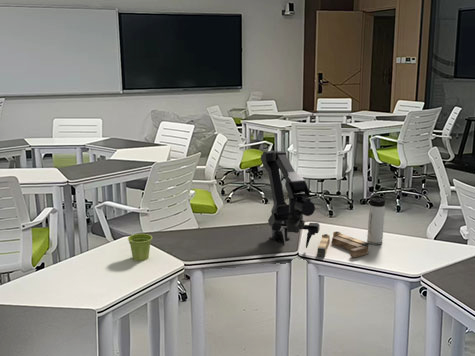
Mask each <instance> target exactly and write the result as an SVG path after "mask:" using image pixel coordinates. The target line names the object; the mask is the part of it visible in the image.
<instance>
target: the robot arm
mask: <svg viewBox="0 0 475 356" xmlns="http://www.w3.org/2000/svg"><path fill="white" fill-rule="evenodd" d="M260 160H261V161H260V162H262V167H263V168H264V169H265V170H266V172H267V173H268V179H269V185H270V190H271V191H270V192H271V194H272V195H271V196H272V202H273V205H272V208H271V214H270V216H269V218H268V221H267V222H268V226H269V227H271V230H272V231H271V236H269V239H270V240H274V241H275V242H277V243H278V242H281V243H282V246H283V247H285V246H286V241H287V240H290V239H291V238H290V237H288V233H295V234H298V233H299V232H300V231H301V230H304V231H306V230H307V231H308V232H307V233H306V242H305V248H306V249H307V248H308V247H309V243H310V241H311V238H312V236H315V235H316V234H319V232H320V228H321V227H320V223H318V222H309V223H308V224H305V220H304V216H306V217H310V216H312V215H313V214H314V213H315V211H316V207H315V204H314V203H313V202H312V199H311V198H310V197H311V192H310V189H309V186H308V184H307V182H306V180H305V179H304V178H303V176H302V175H300V174H298V173H297V172H296V170H295V169H294V167H293V165H292V164H291V162H290V160H289V158H288V157H287V153H286V151H285V150H284V151H283V150H282V151H281V150H267V151H266V150H265V151H263V152H262V154H260ZM280 172H281V174H282V176H283V177H284V180H285V183H284V186H285V188H286V192H287V195H286V197H288V204H287V202H286V201H285V195H284V191H283V190H284V189H283V184H282V178H281V174H280Z"/></svg>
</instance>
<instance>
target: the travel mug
mask: <svg viewBox="0 0 475 356" xmlns="http://www.w3.org/2000/svg"><path fill="white" fill-rule="evenodd" d="M368 208H369V209H368V222H367V235H366V236H367V239H366V242H367V243H369V245H373V246H378V245H382V244H383V238H384V224H385V223H384V222H385V211H386V198H385V197H384V196H380V195H379V194H377V195H376V194H374V195H372V196H370V198H369V206H368Z"/></svg>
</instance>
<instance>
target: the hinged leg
mask: <svg viewBox="0 0 475 356" xmlns="http://www.w3.org/2000/svg"><path fill="white" fill-rule="evenodd" d="M330 237H331V236H330V234H327V233H323V234H321V239H320V242H319V244H318V246H317V257H324V258H325V257H326V254H327V250H328V247H329V245H330V240H331V239H330Z"/></svg>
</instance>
